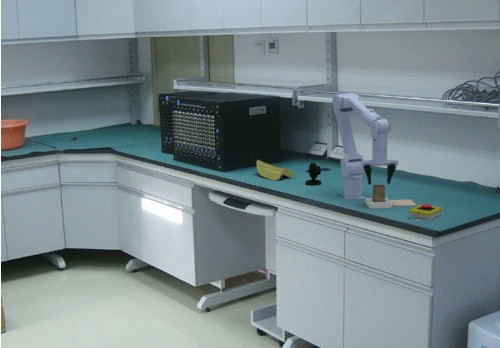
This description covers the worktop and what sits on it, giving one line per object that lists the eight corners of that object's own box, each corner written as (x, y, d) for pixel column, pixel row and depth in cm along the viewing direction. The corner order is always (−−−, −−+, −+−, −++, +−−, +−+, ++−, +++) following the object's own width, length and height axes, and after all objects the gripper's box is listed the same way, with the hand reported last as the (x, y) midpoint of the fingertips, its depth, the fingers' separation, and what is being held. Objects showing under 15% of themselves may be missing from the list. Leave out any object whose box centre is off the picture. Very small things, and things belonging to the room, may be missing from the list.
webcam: (324, 184, 313) (324, 163, 311) (308, 186, 311) (308, 164, 309) (317, 181, 321) (317, 160, 319) (302, 182, 319) (302, 161, 317)
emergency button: (445, 203, 260) (428, 212, 248) (444, 214, 261) (427, 223, 249) (422, 200, 266) (404, 208, 254) (422, 211, 266) (404, 219, 255)
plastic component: (295, 173, 330) (282, 166, 323) (290, 187, 330) (277, 181, 323) (268, 164, 345) (255, 158, 338) (263, 178, 344) (250, 172, 338)
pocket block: (365, 204, 277) (365, 198, 277) (387, 203, 277) (387, 197, 277) (369, 209, 268) (370, 203, 268) (392, 209, 269) (392, 202, 268)
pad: (388, 201, 280) (388, 200, 280) (410, 200, 281) (410, 199, 281) (394, 207, 272) (394, 205, 272) (416, 206, 272) (416, 204, 272)
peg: (372, 204, 275) (372, 184, 273) (382, 203, 275) (382, 184, 273) (374, 206, 271) (375, 187, 269) (384, 206, 271) (385, 186, 269)
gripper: (363, 152, 264) (363, 186, 267) (400, 151, 265) (399, 185, 267) (359, 149, 271) (359, 182, 274) (396, 148, 271) (395, 181, 274)
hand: (379, 183), depth 271 cm, fingers open, 7 cm apart
